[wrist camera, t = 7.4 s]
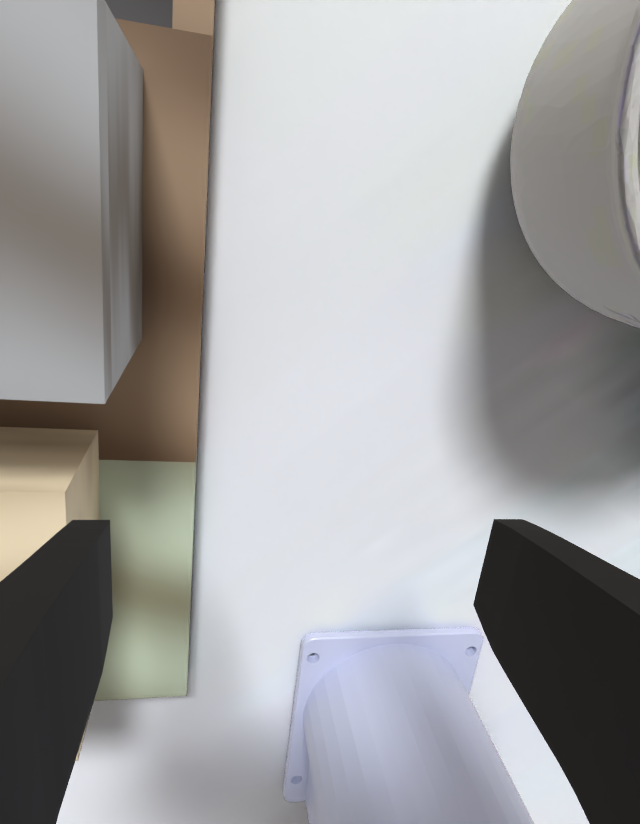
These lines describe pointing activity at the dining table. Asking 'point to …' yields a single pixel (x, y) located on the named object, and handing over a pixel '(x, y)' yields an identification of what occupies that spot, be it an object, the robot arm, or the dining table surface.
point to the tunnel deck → (112, 284)
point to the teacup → (584, 156)
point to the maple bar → (44, 489)
